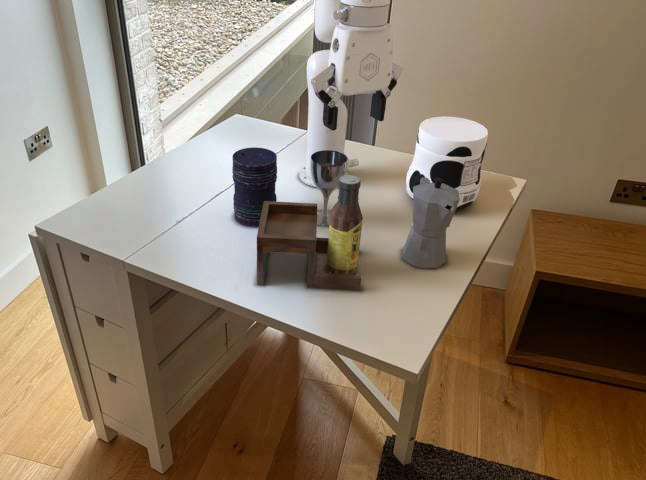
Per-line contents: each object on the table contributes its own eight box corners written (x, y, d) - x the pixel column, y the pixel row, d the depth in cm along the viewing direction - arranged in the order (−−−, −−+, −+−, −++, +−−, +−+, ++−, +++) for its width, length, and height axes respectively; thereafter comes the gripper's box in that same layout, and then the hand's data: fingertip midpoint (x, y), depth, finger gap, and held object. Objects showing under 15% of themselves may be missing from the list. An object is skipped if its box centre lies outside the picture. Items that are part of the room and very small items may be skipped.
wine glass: (345, 213, 138) (351, 153, 129) (337, 229, 132) (342, 168, 123) (312, 207, 140) (316, 148, 131) (303, 223, 134) (306, 162, 125)
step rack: (357, 251, 124) (362, 205, 118) (359, 290, 113) (365, 242, 107) (263, 246, 126) (263, 200, 119) (257, 285, 115) (256, 237, 108)
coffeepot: (458, 271, 119) (478, 192, 108) (415, 277, 117) (431, 197, 106) (426, 233, 131) (440, 157, 120) (386, 237, 129) (397, 161, 118)
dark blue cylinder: (283, 211, 138) (284, 152, 129) (265, 231, 131) (265, 169, 122) (245, 203, 141) (244, 144, 132) (226, 221, 134) (223, 160, 125)
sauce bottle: (355, 280, 116) (365, 189, 104) (324, 276, 117) (330, 186, 105) (358, 262, 121) (368, 174, 109) (328, 258, 122) (335, 170, 110)
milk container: (409, 178, 152) (421, 110, 142) (478, 189, 148) (495, 120, 137) (397, 209, 139) (409, 136, 129) (472, 222, 135) (491, 148, 124)
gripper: (329, 26, 85) (322, 139, 95) (423, 15, 91) (407, 122, 101) (303, 16, 90) (299, 124, 100) (393, 6, 97) (381, 109, 107)
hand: (353, 123), depth 101 cm, fingers open, 9 cm apart
